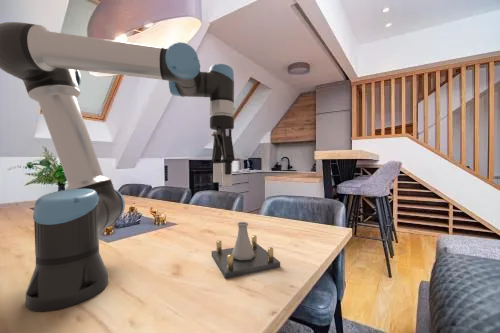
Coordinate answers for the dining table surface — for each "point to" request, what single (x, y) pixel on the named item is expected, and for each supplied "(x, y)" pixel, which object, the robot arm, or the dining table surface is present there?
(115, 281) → the dining table surface
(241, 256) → the flask
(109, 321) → the dining table surface
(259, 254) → the pin plate
